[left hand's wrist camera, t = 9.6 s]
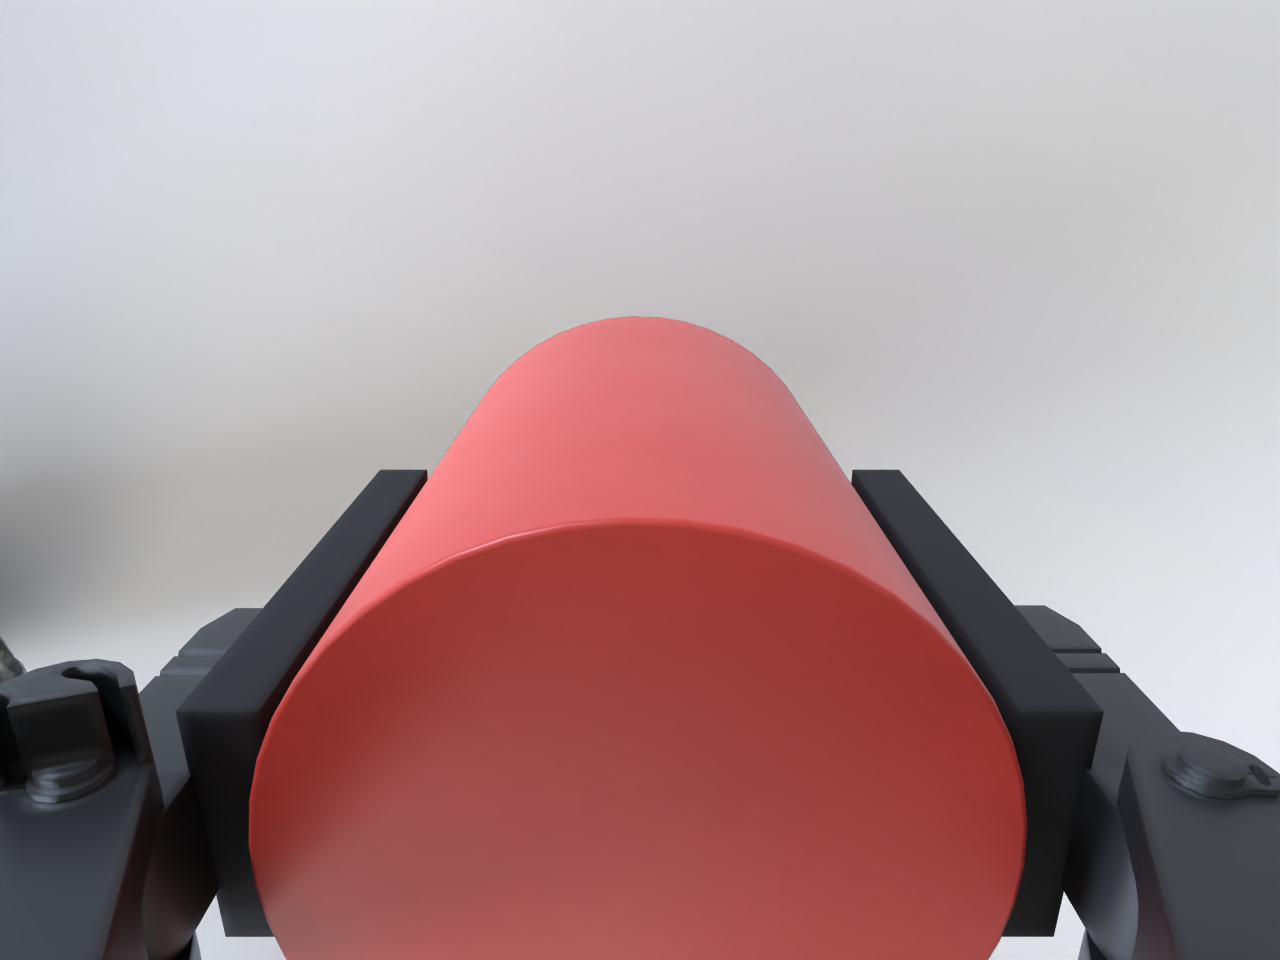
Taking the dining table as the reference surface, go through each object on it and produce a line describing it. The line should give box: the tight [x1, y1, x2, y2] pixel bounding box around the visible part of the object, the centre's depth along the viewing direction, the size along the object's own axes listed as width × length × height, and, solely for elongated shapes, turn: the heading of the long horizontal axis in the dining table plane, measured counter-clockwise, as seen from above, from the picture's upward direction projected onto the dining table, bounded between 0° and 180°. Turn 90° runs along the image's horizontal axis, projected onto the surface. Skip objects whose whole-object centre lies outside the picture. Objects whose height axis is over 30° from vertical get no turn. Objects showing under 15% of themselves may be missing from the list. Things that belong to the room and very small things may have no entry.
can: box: [249, 316, 1027, 960], centre depth 12 cm, size 7×7×9 cm
